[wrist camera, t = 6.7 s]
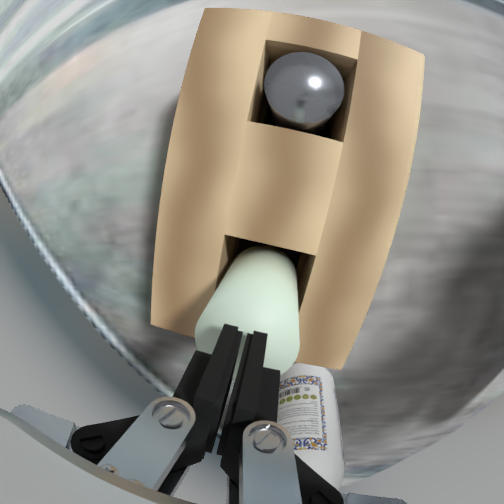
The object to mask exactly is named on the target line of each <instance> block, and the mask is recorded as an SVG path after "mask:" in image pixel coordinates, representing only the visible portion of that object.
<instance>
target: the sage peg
mask: <svg viewBox="0 0 504 504" xmlns="http://www.w3.org/2000/svg"><path fill="white" fill-rule="evenodd" d="M224 324H229V325H233V326H237V327H238V331H242V332H243V334H242V339H241V343H240V347H239V352H238V356H237V360H236V365H235V369H234V373H233V378H232V380H235V379H236V375H237V372H238V368H239V364H240V360H241V356H242V352H243V348H244V345H245V341H246V337H247V333H250V334H253V332H254V331H258V332H263V333H267V334H268V336H267V344H266V351H265V358H264V365H263V367H266V368H271V369H276V370H280V375H282V374H283V373H285V372H286V371H287V370H288V369H289V368H290V367H291V366H292V365H293V363H294V362H295V360H296V358H297V356H298V352H299V347H300V338H299V312H298V291H297V274H296V269H295V266H294V264H293V262H292V261H291V259H290V258H289V257H288V256H287V255H286V254H285V253H284V252H282V251H281V250H279V249H277V248H275V247H271V246H266V245H258V246H253V247H250V248H247V249H245V250H244V251H242V252H241V253H240V254H239V255H238V256H237V257H236V258H235V259H234V261H233V263H232V264H231V266H230V268H229V269H228V271H227V273H226V274H225V276H224V278H223V279H222V281H221V283H220V284H219V286H218V288H217V289H216V291H215V293H214V294H213V296H212V298H211V299H210V301H209V303H208V304H207V306H206V308H205V310H204V311H203V313H202V315H201V316H200V318H199V320H198V322H197V324H196V328H195V343H196V346H197V349H198V351H201V352H205V353H208V354H212V352H213V350H214V348H215V345H216V343H217V340H218V338H219V335H220V333H221V330H222V328H223V326H224Z"/></svg>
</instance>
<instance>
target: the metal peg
mask: <svg viewBox="0 0 504 504" xmlns="http://www.w3.org/2000/svg"><path fill="white" fill-rule="evenodd" d="M264 88H265V93H266V96H267V100H268V103H269V106H270V109H271V113H272V116H273V119H274V122H275V124H276V125H277V127H282V128H287V129H291V130H296V131H300V132H305V133H309V134H313V135H315V134H316V133H318V132H319V131H320V130H321V129H322V128H323V126H324V125H325V124H326V123H327V121H328V120H329V119H330V118H331V116H332V115H333V114H334V113H335V111H336V110H337V109H338V108H339V106H340V104H341V102H342V100H343V96H344V84H343V80H342V77H341V75H340V73H339V71H338V70H337V69H336V67H335V66H334V65H333V64H332V63H331V62H329V61H328V60H326V59H325V58H323V57H321V56H319V55H316V54H313V53H308V52H295V53H290V54H287V55H284V56H282V57H280V58H279V59H277V60H276V61H275V62H274V63H273V64H272V65H271V66H270V68H269V69H268V71H267V73H266V76H265V81H264Z"/></svg>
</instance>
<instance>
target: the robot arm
mask: <svg viewBox="0 0 504 504" xmlns="http://www.w3.org/2000/svg"><path fill="white" fill-rule="evenodd" d="M242 334H243V332H242V331H238V327H237V326H233V325H229V324H224V326H223V328H222V330H221V333H220V335H219V338H218V340H217V343H216V345H215V348H214V350H213V352H212V354H208V353H205V352H201V351H198V350H196V351H195V353H194V355H193V357H192V359H191V361H190V363H189V365H188V367H187V369H186V371H185V373H184V375H183V377H182V379H181V381H180V383H179V385H178V387H177V389H176V391H175V393H174V395H173V397H160V398H158V399H156V400H154V401H152V402H151V403H150V404H149V405H148V407H147V408H146V409H145V410H144V411H143V412H142V413H141V415H139V416H134V417H130V418H125V419H120V420H115V421H110V422H105V423H99V424H94V425H87V426H84V427H77V426H75V423H73V422H70V421H68V420H64V419H62V418H59V417H56V416H54V415H51V414H48V413H46V412H44V411H41V410H39V409H36V408H34V407H32V406H29V405H19V406H17V407H15V408H14V409H13V410H12V411H11V412H10V413H9V412H8V411H6V410H3V409H1V408H0V504H196V503H192V502H188V501H185V500H182V499H178V498H175V497H173V495H174V494H175V492H176V490H177V489H178V487H179V485H180V484H181V482H182V480H183V479H184V477H185V475H186V474H187V472H188V470H189V468H190V465H193V464H195V463H198V462H201V460H202V459H204V455H205V452H209V453H211V452H212V449H213V446H214V443H215V439H216V436H217V432H218V429H219V425H220V422H221V418H222V415H223V411H224V407H225V404H226V400H227V397H228V393H229V390H230V386H231V382H232V378H233V373H234V369H235V365H236V360H237V356H238V352H239V347H240V343H241V339H242ZM267 336H268V334H267V333H263V332H258V331H254V332H253V334H250V333H247V337H246V341H245V345H244V348H243V352H242V356H241V360H240V364H239V368H238V372H237V375H236V379H235V383H234V387H233V391H232V394H231V398H230V402H229V406H228V410H227V414H226V418H225V422H224V426H223V430H222V434H221V438H220V442H219V446H218V450H217V454H218V455H222V459H221V465H220V466H221V468H222V469H223V470H224V471H225V473H226V474H227V475H228V477H227V499H226V504H407V503H406V502H405V501H403V500H401V499H397V498H386V497H376V496H368V495H360V494H355V493H348V494H341V493H340V492H339V491H338V490H337V489H336V488H335V487H333V486H332V485H331V484H330V483H328V482H327V481H326V480H325V479H324V478H322V477H321V476H320V475H319V474H318V473H316V472H315V471H314V470H313V469H312V468H311V467H309V466H308V465H307V464H306V463H305V462H304V461H303V460H301V459H300V458H299V457H298V456H297V455H296V454H295V453H294V448H293V442H292V438H291V435H290V433H289V432H288V431H287V429H286V428H284V427H283V426H282V425H280V424H278V423H277V414H278V401H279V387H280V370H276V369H271V368H266V367H263V365H264V358H265V351H266V344H267Z"/></svg>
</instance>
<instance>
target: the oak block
mask: <svg viewBox="0 0 504 504" xmlns="http://www.w3.org/2000/svg"><path fill="white" fill-rule="evenodd" d="M295 52H308V53H313V54H316V55H319V56H321V57H323V58H325V59H326V60H328V61H329V62H331V63H332V64H333V65H334V66H335V67H336V69H337V70H338V71H339V73H340V75H341V77H342V80H343V84H344V96H343V100H342V102H341V104H340V106H339V108H338V109H337V110H336V111H335V113H334V114H333V115H332V120H331V125H330V130H329V135H328V138H325V137H321V136H317V135H313V134H309V133H305V132H300V131H296V130H291V129H287V128H282V127H277V126H272V125H266V124H264V120H265V116H266V111H267V106H268V100H267V96H266V93H265V88H264V81H265V76H266V73H267V71H268V69H269V68H270V66H271V65H272V64H273V63H274V62H275V61H276V60H277V59H279V58H280V57H282V56H284V55H287V54H290V53H295ZM424 58H425V55H423V54H421V53H419V52H417V51H414V50H412V49H410V48H407V47H405V46H403V45H400V44H398V43H395V42H393V41H390V40H387V39H385V38H382V37H379V36H376V35H373V34H370V33H367V32H364V31H361V30H358V29H354V28H351V27H347V26H344V25H340V24H336V23H332V22H328V21H324V20H319V19H315V18H310V17H304V16H299V15H293V14H286V13H279V12H272V11H262V10H251V9H235V8H205V10H204V13H203V15H202V18H201V21H200V24H199V27H198V31H197V34H196V37H195V40H194V43H193V47H192V50H191V53H190V57H189V60H188V64H187V68H186V71H185V75H184V79H183V83H182V87H181V91H180V95H179V99H178V104H177V108H176V113H175V117H174V122H173V127H172V132H171V137H170V142H169V147H168V153H167V159H166V165H165V171H164V177H163V184H162V191H161V198H160V205H159V213H158V222H157V231H156V241H155V252H154V265H153V279H152V299H151V325H154V326H157V327H160V328H163V329H167V330H170V331H173V332H176V333H179V334H183V335H186V336H189V337H193V338H195V328H196V324H197V322H198V320H199V318H200V316H201V315H202V313H203V311H204V310H205V308H206V306H207V304H208V303H209V301H210V299H211V298H212V296H213V294H214V293H215V291H216V289H217V288H218V286H219V284H220V283H221V281H222V279H223V278H224V276H225V274H226V273H227V271H228V269H229V268H230V266H231V264H232V263H233V261H234V259H235V258H236V257H237V253H238V248H239V243H240V238H243V239H247V240H251V241H256V242H260V243H264V244H269V245H273V246H277V247H282V248H286V249H290V250H295V251H299V252H301V255H300V258H299V262H298V266H297V270H296V274H297V291H298V312H299V338H300V347H299V352H298V356H297V358H296V360H295V362H297V363H303V364H308V365H314V366H320V367H326V368H332V369H339V370H341V369H342V367H343V365H344V363H345V361H346V359H347V357H348V355H349V353H350V351H351V348H352V346H353V344H354V342H355V340H356V337H357V335H358V333H359V331H360V328H361V326H362V323H363V321H364V319H365V316H366V314H367V311H368V309H369V306H370V304H371V301H372V299H373V296H374V293H375V291H376V288H377V285H378V283H379V280H380V277H381V274H382V271H383V268H384V265H385V262H386V259H387V256H388V253H389V250H390V247H391V244H392V240H393V237H394V234H395V230H396V227H397V223H398V220H399V216H400V212H401V208H402V205H403V201H404V197H405V192H406V188H407V184H408V179H409V175H410V170H411V165H412V160H413V155H414V149H415V143H416V137H417V131H418V124H419V117H420V109H421V100H422V90H423V77H424Z"/></svg>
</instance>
